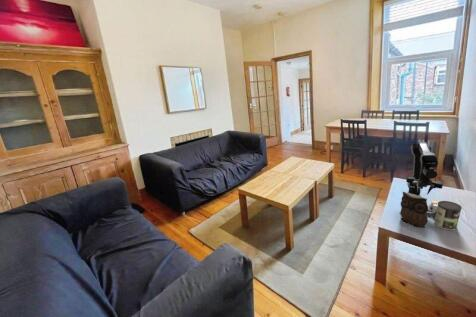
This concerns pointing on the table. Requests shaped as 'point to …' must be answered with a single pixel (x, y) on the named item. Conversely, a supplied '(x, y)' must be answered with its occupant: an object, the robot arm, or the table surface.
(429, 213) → the panel
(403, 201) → the owl
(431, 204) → the fader orange
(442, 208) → the coffee can
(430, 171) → the robot arm
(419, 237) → the table surface
